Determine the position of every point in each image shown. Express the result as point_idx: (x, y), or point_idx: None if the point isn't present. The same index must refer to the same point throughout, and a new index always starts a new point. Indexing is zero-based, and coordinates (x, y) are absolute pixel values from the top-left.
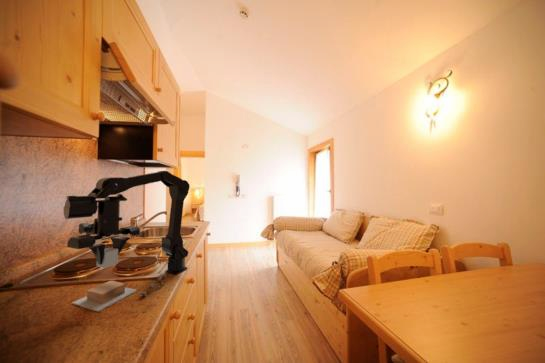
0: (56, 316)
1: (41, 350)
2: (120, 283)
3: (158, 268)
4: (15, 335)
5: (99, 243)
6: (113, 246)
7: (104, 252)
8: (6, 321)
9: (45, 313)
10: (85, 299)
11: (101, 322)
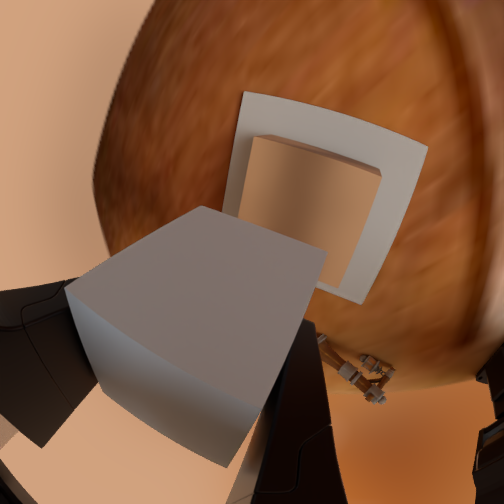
0: (178, 124)
1: (111, 229)
2: (340, 264)
3: None
4: (116, 116)
5: (2, 421)
6: (261, 458)
7: (101, 386)
8: (148, 16)
9: (185, 67)
10: (272, 125)
11: None
